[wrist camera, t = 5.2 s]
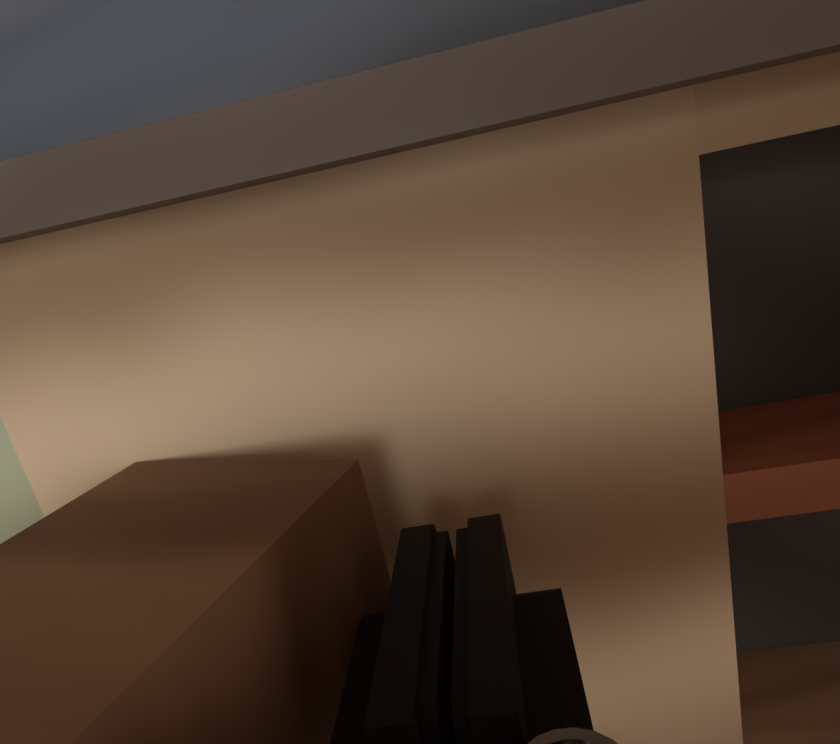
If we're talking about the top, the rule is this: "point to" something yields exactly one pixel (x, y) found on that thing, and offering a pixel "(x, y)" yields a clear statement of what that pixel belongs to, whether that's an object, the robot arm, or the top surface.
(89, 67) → the top surface
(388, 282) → the box
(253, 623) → the walnut block
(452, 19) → the top surface
